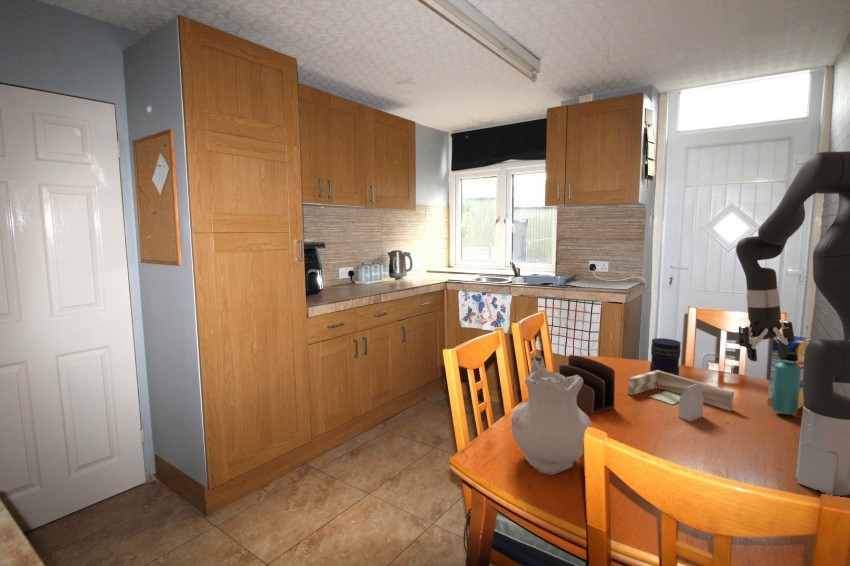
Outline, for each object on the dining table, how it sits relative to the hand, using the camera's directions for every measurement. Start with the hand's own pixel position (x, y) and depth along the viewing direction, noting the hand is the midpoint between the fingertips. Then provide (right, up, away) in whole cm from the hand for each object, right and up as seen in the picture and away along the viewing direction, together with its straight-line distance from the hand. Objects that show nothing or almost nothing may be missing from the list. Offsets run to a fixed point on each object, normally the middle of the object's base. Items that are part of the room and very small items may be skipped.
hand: (767, 358), depth 127 cm
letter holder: (-48, -18, +20) cm, 55 cm away
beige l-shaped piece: (-16, -18, +18) cm, 30 cm away
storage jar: (-8, -15, +40) cm, 44 cm away
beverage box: (+19, -18, +16) cm, 30 cm away
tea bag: (-19, -19, +7) cm, 28 cm away
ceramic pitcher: (-70, -22, -17) cm, 75 cm away
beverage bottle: (+11, -19, +8) cm, 23 cm away
